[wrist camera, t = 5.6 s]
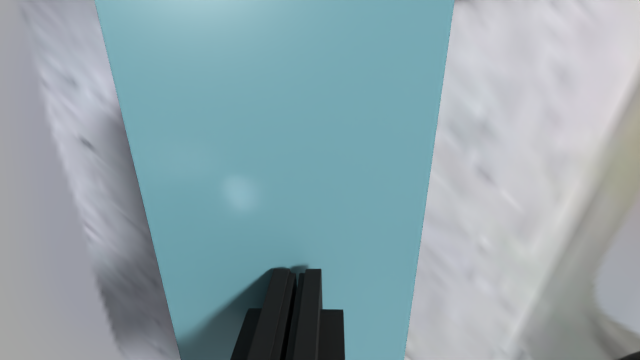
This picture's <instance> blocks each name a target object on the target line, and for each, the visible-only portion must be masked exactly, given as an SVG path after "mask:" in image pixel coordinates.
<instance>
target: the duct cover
mask: <svg viewBox="0 0 640 360" xmlns="http://www.w3.org/2000/svg"><path fill="white" fill-rule="evenodd" d="M95 5H96V9H97V13H98V17H99V21H100V25H101V29H102V34H103V38H104V42H105V46H106V50H107V54H108V59H109V63H110V67H111V71H112V75H113V79H114V83H115V88H116V92H117V96H118V100H119V104H120V108H121V113H122V117H123V121H124V125H125V129H126V133H127V137H128V142H129V146H130V150H131V154H132V158H133V162H134V167H135V171H136V175H137V179H138V183H139V187H140V191H141V196H142V200H143V204H144V208H145V212H146V216H147V221H148V225H149V229H150V233H151V237H152V241H153V245H154V250H155V254H156V258H157V262H158V266H159V270H160V274H161V279H162V283H163V287H164V291H165V295H166V299H167V304H168V308H169V312H170V316H171V320H172V324H173V328H174V333H175V337H176V341H177V345H178V349H179V353H180V358H181V360H230V358H231V355H232V353H233V350H234V347H235V344H236V341H237V338H238V335H239V332H240V330H241V327H242V324H243V321H244V318H245V315H246V313H247V310H248V309H249V308H262V307H263V303H264V300H265V297H266V293H267V290H268V286H269V283H270V279H271V276H272V273H273V270H274V268H284V269H290V271H291V273H296V279H297V285H298V279H299V273H305V270H306V269H321V271H322V303H323V309H343V312H344V339H345V360H404V355H405V348H406V341H407V334H408V327H409V320H410V313H411V306H412V299H413V291H414V284H415V277H416V270H417V263H418V256H419V249H420V242H421V235H422V228H423V220H424V213H425V206H426V199H427V192H428V185H429V178H430V171H431V164H432V156H433V149H434V142H435V135H436V128H437V121H438V114H439V107H440V100H441V92H442V85H443V78H444V71H445V64H446V57H447V50H448V43H449V36H450V29H451V21H452V14H453V7H454V0H95Z"/></svg>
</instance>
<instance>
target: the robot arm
mask: <svg viewBox="0 0 640 360" xmlns="http://www.w3.org/2000/svg"><path fill="white" fill-rule="evenodd" d="M230 360H345V339H344V312H343V309H323V303H322V271H321V269H306V270H305V273H299V279H298V285H297V279H296V273H291V271H290V269H284V268H274V270H273V273H272V276H271V279H270V283H269V286H268V290H267V293H266V297H265V300H264V303H263V307H262V308H249V309H248V310H247V313H246V315H245V318H244V321H243V324H242V327H241V330H240V332H239V335H238V338H237V341H236V344H235V347H234V350H233V353H232V355H231V358H230Z"/></svg>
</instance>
